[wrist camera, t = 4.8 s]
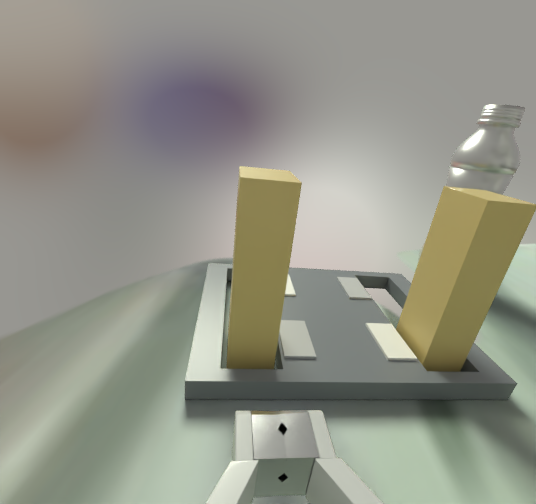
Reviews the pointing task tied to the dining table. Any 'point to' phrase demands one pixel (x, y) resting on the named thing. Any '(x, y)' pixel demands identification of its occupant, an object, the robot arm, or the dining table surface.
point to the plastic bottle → (488, 152)
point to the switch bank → (332, 347)
